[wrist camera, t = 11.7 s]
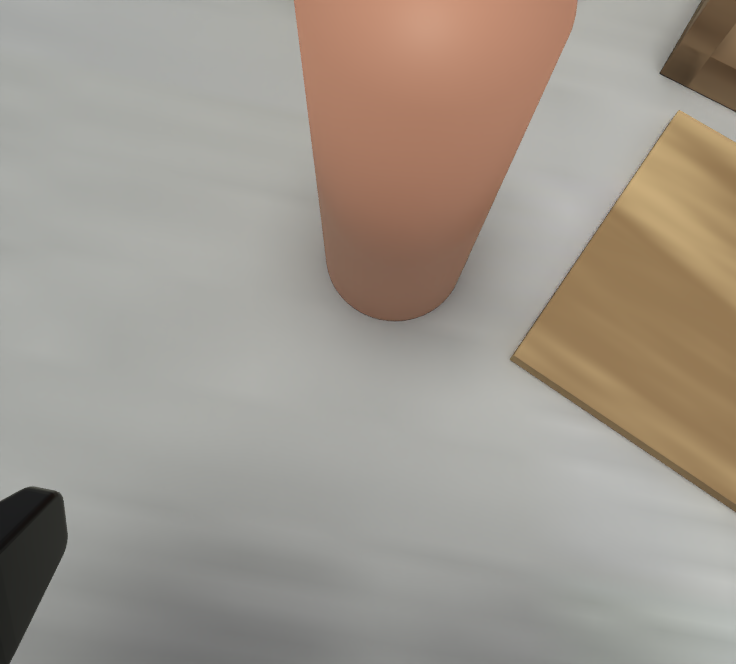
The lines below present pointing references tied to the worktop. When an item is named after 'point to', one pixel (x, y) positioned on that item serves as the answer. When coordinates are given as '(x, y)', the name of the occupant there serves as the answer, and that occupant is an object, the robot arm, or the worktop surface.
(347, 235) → the post
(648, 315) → the brown wooden flat block
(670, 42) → the worktop surface
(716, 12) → the open wooden box
